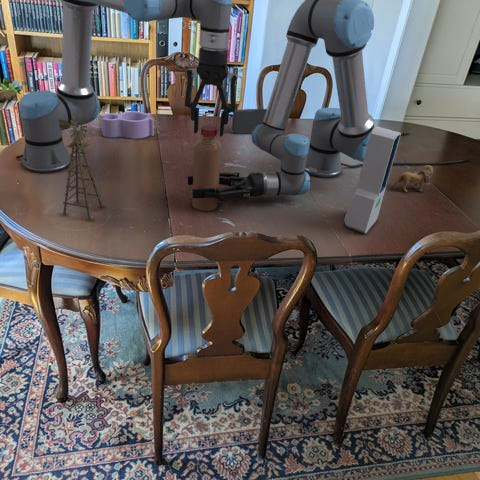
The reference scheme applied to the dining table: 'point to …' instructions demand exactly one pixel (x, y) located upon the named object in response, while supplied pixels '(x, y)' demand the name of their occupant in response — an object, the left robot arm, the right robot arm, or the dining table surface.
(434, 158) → the dining table surface
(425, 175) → the lion figurine
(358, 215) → the electronic device
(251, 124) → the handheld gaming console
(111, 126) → the clip
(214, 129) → the cap
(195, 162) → the bottle
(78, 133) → the miniature windmill
